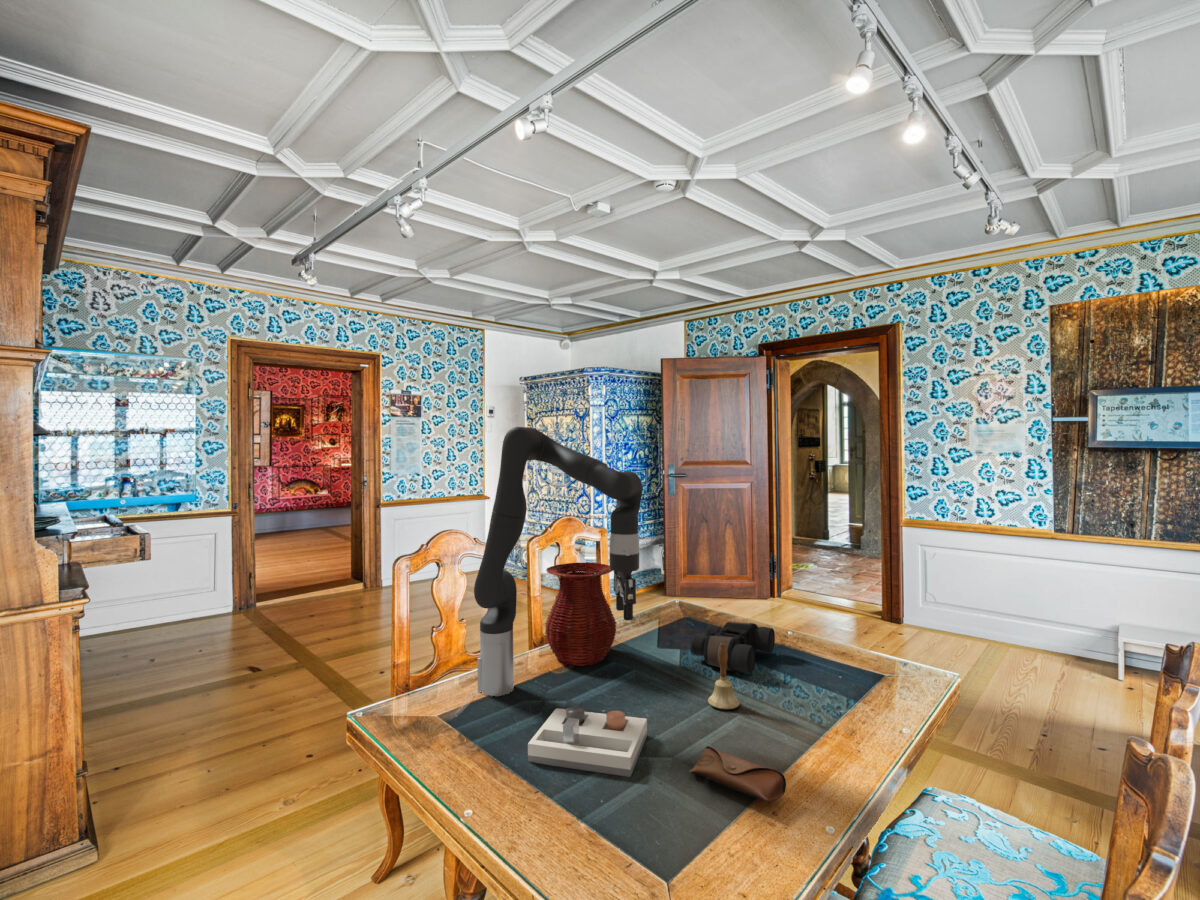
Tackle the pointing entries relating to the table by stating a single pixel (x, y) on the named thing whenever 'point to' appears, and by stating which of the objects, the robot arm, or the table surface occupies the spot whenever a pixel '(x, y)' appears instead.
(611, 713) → the terracotta button
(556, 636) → the vase
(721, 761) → the sunglasses case
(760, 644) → the binoculars
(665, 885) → the table surface
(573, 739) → the steel slider
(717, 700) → the hand bell
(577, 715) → the black button
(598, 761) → the console
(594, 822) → the table surface
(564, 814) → the table surface
